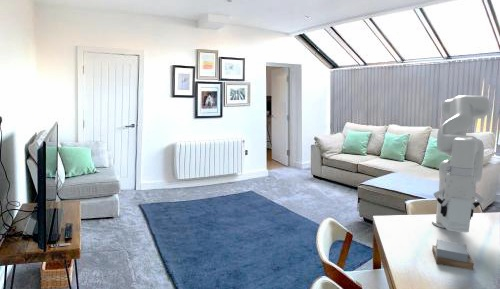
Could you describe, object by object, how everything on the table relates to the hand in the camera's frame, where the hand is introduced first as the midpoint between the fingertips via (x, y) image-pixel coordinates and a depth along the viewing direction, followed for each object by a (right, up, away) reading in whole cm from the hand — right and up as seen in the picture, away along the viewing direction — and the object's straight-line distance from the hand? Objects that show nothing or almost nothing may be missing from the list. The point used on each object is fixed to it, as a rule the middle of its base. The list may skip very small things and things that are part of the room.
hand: (456, 216), depth 137 cm
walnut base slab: (0, -18, +3) cm, 18 cm away
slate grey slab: (-1, -15, +2) cm, 15 cm away
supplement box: (0, -5, +1) cm, 5 cm away
